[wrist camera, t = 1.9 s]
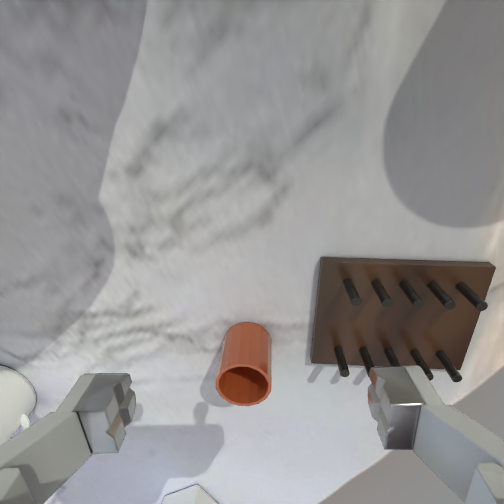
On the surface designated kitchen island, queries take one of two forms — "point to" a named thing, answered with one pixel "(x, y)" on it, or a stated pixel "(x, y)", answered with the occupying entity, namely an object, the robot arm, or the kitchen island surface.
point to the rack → (397, 312)
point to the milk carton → (189, 497)
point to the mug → (14, 402)
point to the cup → (245, 365)
